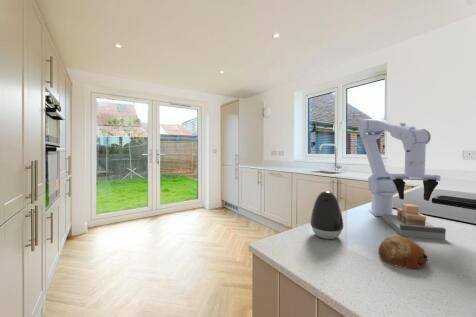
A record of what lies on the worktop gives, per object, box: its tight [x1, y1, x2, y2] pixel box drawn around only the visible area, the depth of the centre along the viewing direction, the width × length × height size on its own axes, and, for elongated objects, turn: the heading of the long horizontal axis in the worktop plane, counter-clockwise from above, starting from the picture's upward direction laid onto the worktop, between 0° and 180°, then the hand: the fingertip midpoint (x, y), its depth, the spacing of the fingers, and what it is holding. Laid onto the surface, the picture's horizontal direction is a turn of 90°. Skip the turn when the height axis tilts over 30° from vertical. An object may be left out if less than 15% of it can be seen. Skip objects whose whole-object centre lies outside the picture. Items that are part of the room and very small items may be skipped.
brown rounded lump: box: [378, 234, 429, 270], centre depth 58 cm, size 10×10×8 cm
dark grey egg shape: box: [310, 190, 344, 240], centre depth 73 cm, size 10×10×15 cm
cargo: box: [401, 202, 420, 214], centre depth 80 cm, size 4×4×2 cm
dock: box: [382, 214, 447, 241], centre depth 80 cm, size 18×12×4 cm, turn 163°
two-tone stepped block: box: [396, 207, 427, 226], centre depth 80 cm, size 10×5×4 cm, turn 163°
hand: (413, 199), depth 80 cm, fingers open, 7 cm apart
